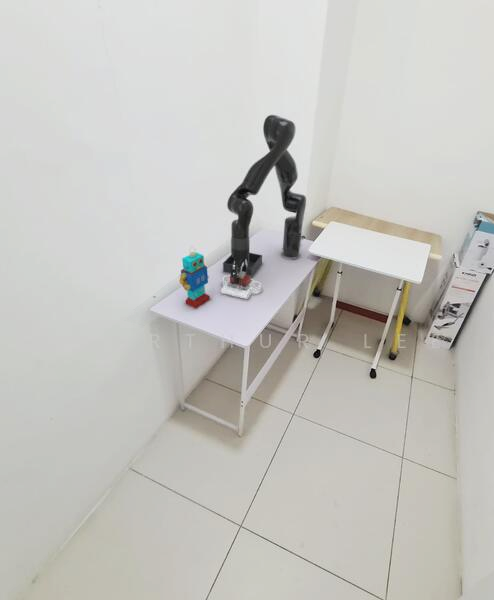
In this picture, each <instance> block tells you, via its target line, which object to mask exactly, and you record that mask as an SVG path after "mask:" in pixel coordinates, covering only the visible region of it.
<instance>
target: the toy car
mask: <svg viewBox="0 0 494 600" xmlns="http://www.w3.org/2000/svg"><path fill="white" fill-rule="evenodd" d="M251 279H252V277H251V275H246V272H243V271H241V272H240V275H239V284H238V285H242V286H243V287H246V286H248V284H249V283H250V282H251ZM230 283H231V284H233V285H234V278H233V277H231V276H230Z"/></svg>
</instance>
